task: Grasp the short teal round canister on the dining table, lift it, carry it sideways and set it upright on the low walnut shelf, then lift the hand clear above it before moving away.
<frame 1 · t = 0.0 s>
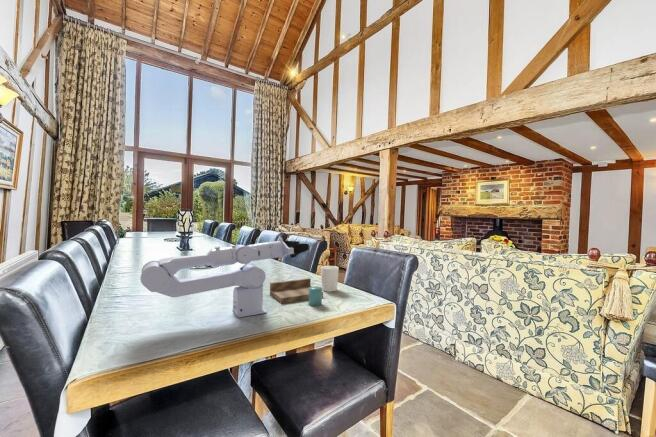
hand: (303, 245, 106), 22 cm above the table, tool horizontal, fingers open, 7 cm apart
white cup: (329, 290, 126), on the table
teal round canister: (314, 304, 106), on the table
walnut shelf: (296, 296, 115), on the table
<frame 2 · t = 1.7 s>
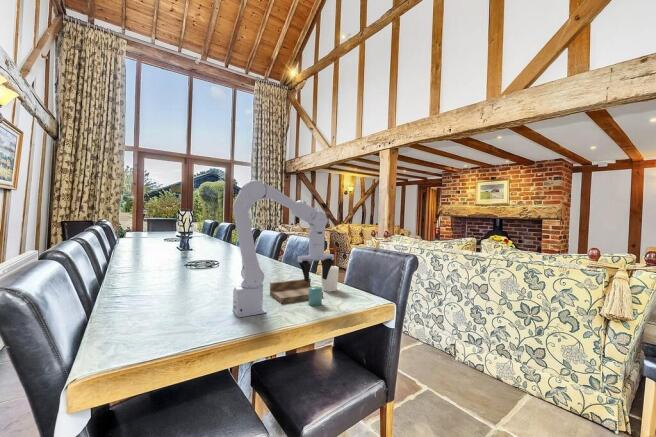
hand: (315, 280, 106), 9 cm above the table, tool pointing down, fingers open, 7 cm apart
nothing on the table moved.
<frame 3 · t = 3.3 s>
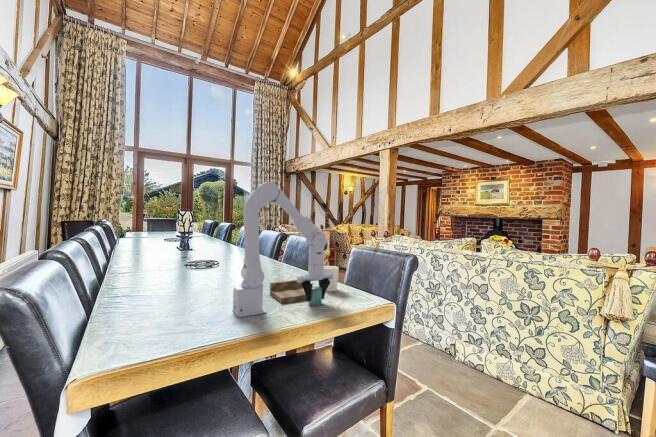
hand: (315, 299, 106), 2 cm above the table, tool pointing down, fingers closed on teal round canister, 5 cm apart
teal round canister: (314, 304, 106), on the table, touching gripper
everything else where it was.
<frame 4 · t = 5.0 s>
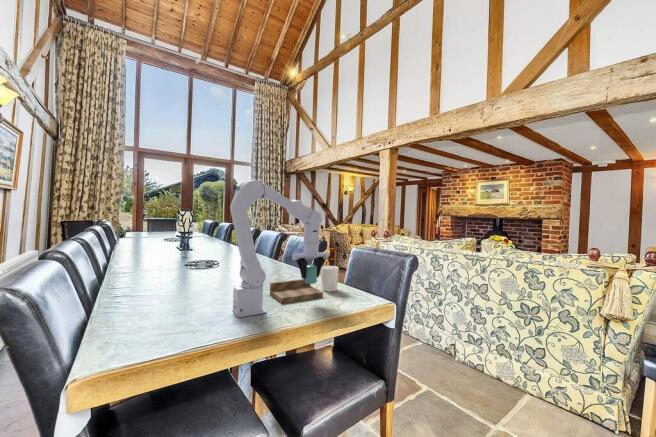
hand: (310, 277, 108), 9 cm above the table, tool pointing down, fingers closed on teal round canister, 5 cm apart
teal round canister: (310, 281, 108), point 8 cm above the table, touching gripper
everything else where it was.
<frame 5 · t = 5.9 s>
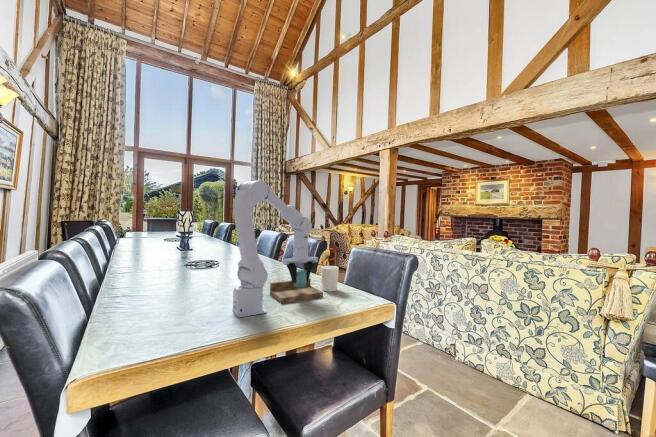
hand: (300, 281, 112), 7 cm above the table, tool pointing down, fingers closed on teal round canister, 5 cm apart
teal round canister: (300, 285, 112), point 5 cm above the table, touching gripper
everything else where it was.
when the fingers open (5 cm above the table, at t = 6.8 s): teal round canister stays where it is, resting on walnut shelf.
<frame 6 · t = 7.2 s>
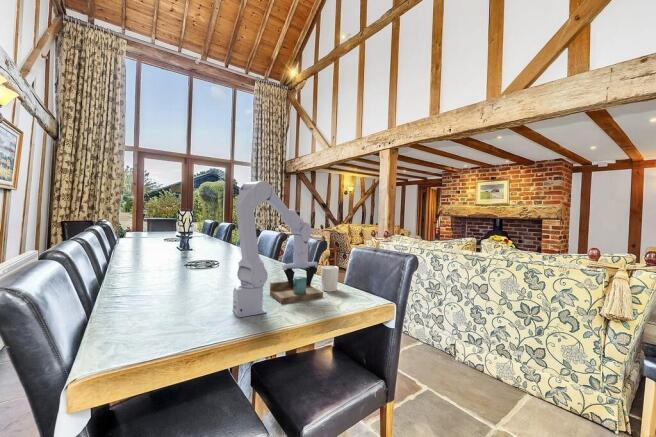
hand: (299, 286, 112), 5 cm above the table, tool pointing down, fingers open, 7 cm apart
teal round canister: (299, 293, 112), point 2 cm above the table, touching walnut shelf
everything else where it was.
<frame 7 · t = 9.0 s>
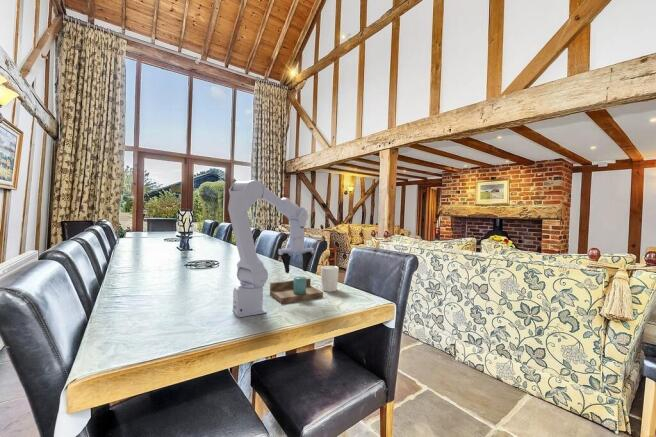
hand: (296, 271, 112), 10 cm above the table, tool pointing down, fingers open, 7 cm apart
nothing on the table moved.
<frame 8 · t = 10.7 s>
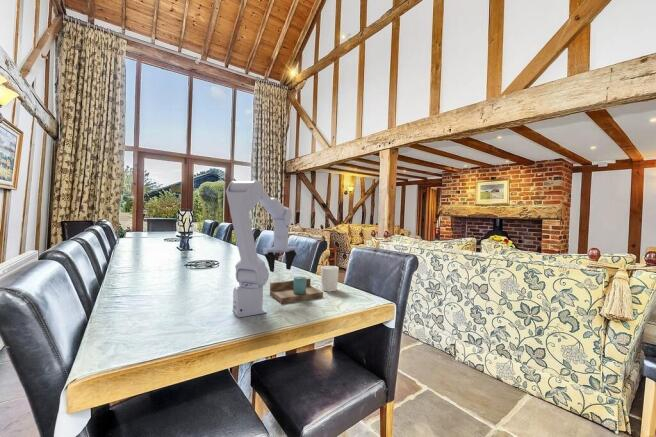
hand: (280, 270, 114), 10 cm above the table, tool pointing down, fingers open, 7 cm apart
nothing on the table moved.
at the end: teal round canister inside the target area on the walnut shelf (1.9 cm from its centre), point 2.0 cm above the walnut shelf's base; teal round canister tilted 0°; the gripper is holding nothing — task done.
